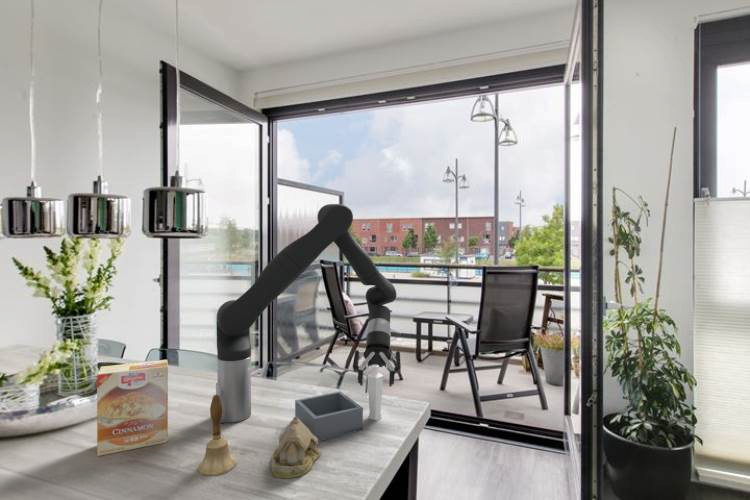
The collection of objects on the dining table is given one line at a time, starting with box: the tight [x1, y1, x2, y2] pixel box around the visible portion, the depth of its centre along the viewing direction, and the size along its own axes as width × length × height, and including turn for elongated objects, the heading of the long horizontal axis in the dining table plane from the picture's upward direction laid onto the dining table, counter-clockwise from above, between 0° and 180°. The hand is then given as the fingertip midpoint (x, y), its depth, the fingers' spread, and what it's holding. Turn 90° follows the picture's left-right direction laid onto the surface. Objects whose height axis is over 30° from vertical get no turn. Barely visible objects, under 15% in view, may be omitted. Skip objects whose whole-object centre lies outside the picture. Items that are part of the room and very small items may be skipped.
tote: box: [294, 390, 364, 442], centre depth 113 cm, size 14×14×6 cm
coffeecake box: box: [96, 359, 169, 457], centre depth 102 cm, size 15×7×20 cm, turn 117°
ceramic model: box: [270, 416, 322, 479], centre depth 95 cm, size 14×11×10 cm
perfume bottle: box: [367, 365, 384, 421], centre depth 119 cm, size 5×4×15 cm
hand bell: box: [197, 394, 238, 477], centre depth 93 cm, size 8×8×16 cm
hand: (375, 384), depth 119 cm, fingers open, 8 cm apart
